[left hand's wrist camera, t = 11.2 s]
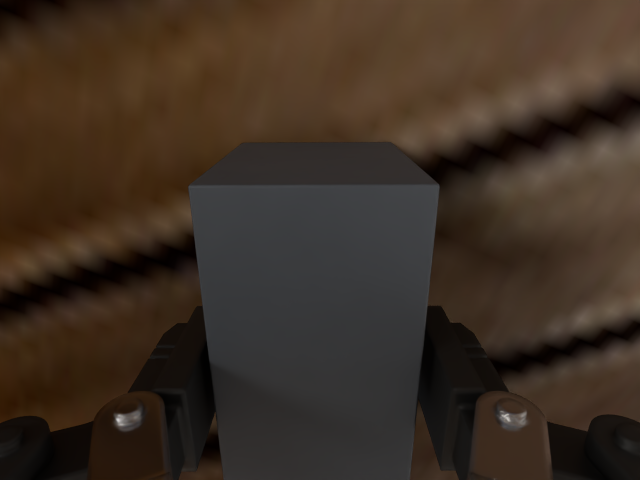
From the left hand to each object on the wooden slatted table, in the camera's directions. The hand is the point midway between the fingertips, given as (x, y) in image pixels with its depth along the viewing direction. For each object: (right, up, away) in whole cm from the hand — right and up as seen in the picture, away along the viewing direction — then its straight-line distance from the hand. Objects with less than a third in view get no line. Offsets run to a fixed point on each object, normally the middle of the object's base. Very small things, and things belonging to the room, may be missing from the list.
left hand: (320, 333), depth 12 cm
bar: (0, -26, +14) cm, 29 cm away
